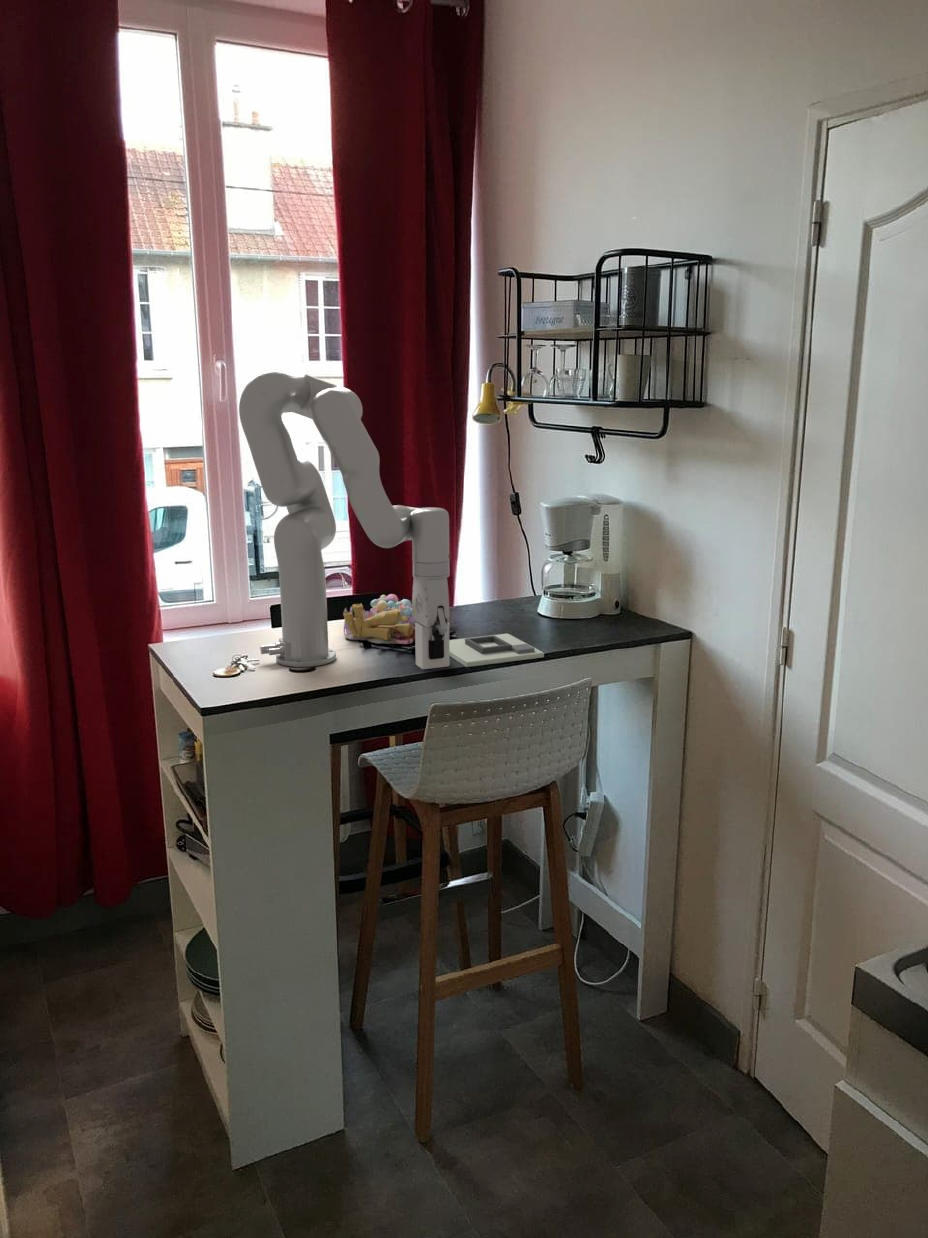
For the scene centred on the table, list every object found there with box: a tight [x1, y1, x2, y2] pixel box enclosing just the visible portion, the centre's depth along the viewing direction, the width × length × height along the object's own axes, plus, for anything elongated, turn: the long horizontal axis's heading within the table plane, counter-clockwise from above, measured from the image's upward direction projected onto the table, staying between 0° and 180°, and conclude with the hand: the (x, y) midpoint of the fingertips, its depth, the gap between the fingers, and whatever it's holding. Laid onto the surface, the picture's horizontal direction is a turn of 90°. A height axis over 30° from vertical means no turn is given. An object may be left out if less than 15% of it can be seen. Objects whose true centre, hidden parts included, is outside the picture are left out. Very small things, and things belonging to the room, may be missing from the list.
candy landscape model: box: [342, 593, 451, 645], centre depth 228 cm, size 25×24×9 cm
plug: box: [414, 622, 451, 670], centre depth 201 cm, size 6×4×11 cm, turn 113°
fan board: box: [449, 633, 545, 668], centre depth 212 cm, size 18×18×2 cm
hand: (432, 654), depth 202 cm, fingers closed on plug, 3 cm apart
